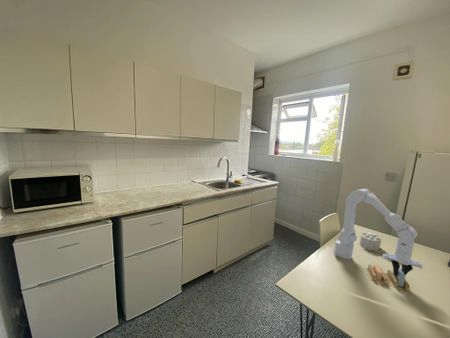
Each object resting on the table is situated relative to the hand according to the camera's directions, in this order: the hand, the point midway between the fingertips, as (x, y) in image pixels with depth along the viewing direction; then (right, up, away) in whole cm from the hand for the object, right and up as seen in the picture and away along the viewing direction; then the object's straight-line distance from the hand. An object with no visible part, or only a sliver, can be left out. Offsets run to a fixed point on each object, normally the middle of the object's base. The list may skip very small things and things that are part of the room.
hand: (398, 275), depth 93 cm
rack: (-4, -4, +2) cm, 6 cm away
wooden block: (-8, -3, +4) cm, 9 cm away
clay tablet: (+17, -3, +19) cm, 26 cm away
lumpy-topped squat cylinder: (+13, 0, +35) cm, 37 cm away
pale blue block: (0, -3, +1) cm, 3 cm away
